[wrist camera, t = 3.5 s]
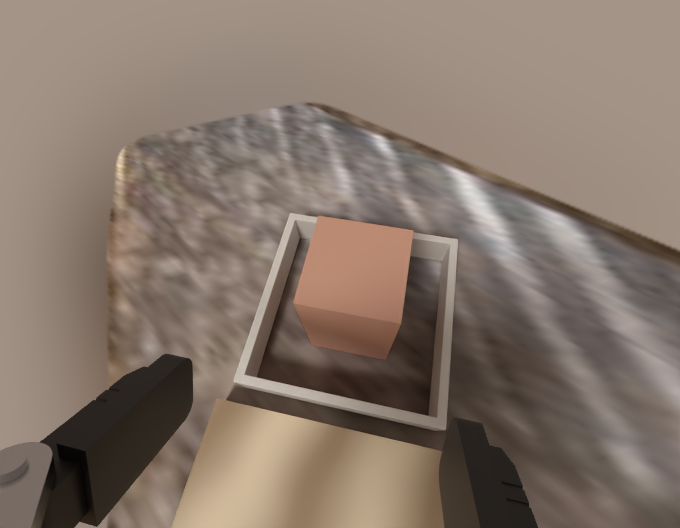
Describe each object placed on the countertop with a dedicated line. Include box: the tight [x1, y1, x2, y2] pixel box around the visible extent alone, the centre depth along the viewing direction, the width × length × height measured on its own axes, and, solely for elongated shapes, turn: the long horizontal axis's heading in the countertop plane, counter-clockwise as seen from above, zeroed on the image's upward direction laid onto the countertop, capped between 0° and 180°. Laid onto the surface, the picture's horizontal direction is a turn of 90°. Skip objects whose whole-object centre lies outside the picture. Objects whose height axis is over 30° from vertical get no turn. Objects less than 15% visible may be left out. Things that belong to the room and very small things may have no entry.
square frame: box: [233, 213, 458, 431], centre depth 22 cm, size 12×12×2 cm
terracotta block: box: [293, 216, 414, 360], centre depth 20 cm, size 5×5×8 cm
